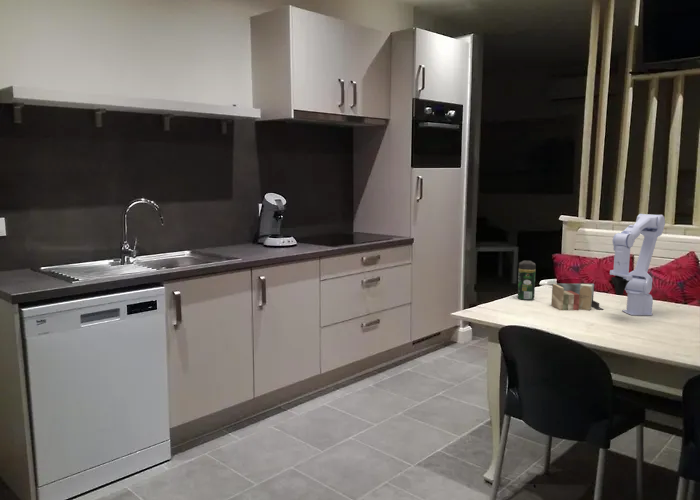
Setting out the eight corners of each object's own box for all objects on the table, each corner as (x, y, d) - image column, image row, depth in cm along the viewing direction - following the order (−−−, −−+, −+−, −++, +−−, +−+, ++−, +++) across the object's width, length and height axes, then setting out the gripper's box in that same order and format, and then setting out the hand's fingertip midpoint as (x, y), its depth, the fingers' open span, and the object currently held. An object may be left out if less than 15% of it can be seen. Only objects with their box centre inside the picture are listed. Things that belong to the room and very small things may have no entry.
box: (577, 309, 247) (579, 284, 246) (579, 307, 251) (580, 283, 249) (590, 310, 244) (592, 286, 243) (591, 308, 248) (593, 284, 247)
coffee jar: (517, 296, 274) (518, 259, 272) (533, 297, 272) (535, 260, 269) (517, 300, 265) (519, 261, 262) (534, 301, 263) (536, 262, 260)
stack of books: (593, 305, 255) (594, 283, 254) (603, 310, 245) (605, 288, 244) (550, 304, 255) (551, 283, 254) (559, 310, 245) (560, 288, 243)
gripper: (603, 259, 233) (601, 291, 235) (621, 264, 219) (618, 298, 221) (620, 259, 233) (617, 291, 235) (638, 265, 219) (636, 298, 221)
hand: (619, 294), depth 228 cm, fingers closed
